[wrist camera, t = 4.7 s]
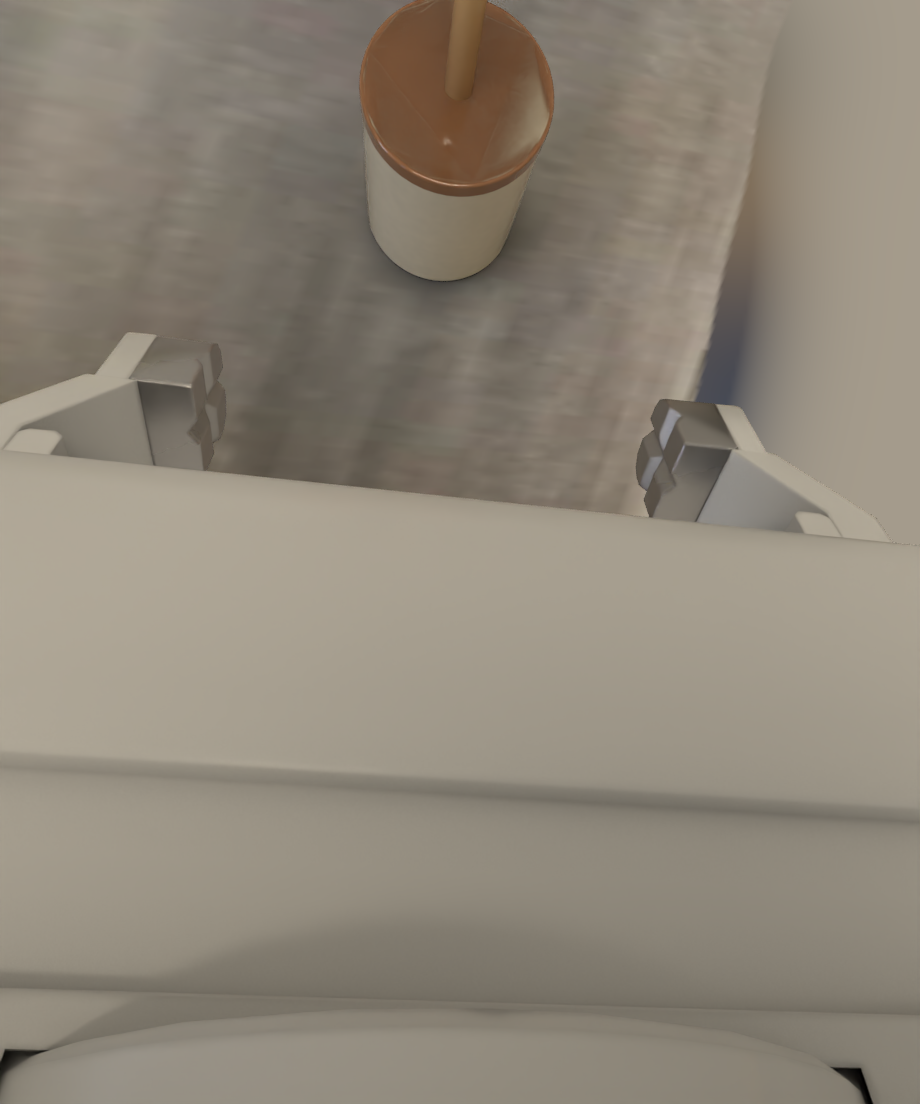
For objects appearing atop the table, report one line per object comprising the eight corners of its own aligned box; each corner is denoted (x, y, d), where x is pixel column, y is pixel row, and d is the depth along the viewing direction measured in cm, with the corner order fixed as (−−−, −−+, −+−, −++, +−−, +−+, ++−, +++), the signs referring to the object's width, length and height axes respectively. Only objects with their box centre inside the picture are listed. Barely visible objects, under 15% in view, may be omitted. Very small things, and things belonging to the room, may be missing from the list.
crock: (505, 292, 28) (696, -147, 11) (358, 271, 27) (312, -227, 10) (521, 125, 28) (733, -566, 11) (376, 101, 28) (359, -670, 10)
